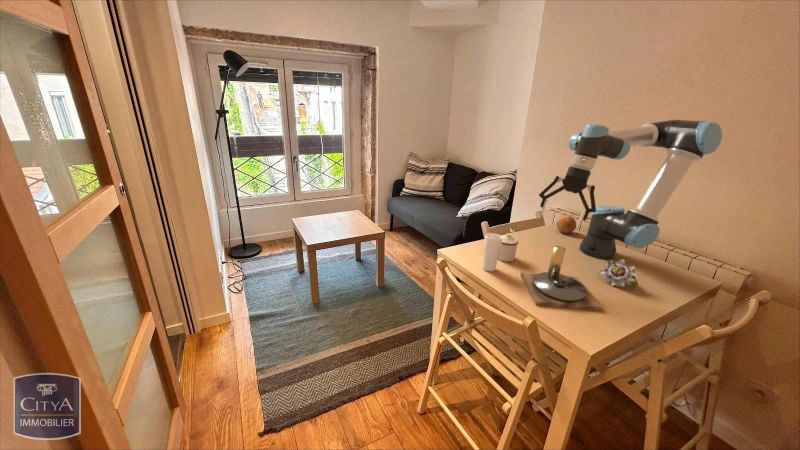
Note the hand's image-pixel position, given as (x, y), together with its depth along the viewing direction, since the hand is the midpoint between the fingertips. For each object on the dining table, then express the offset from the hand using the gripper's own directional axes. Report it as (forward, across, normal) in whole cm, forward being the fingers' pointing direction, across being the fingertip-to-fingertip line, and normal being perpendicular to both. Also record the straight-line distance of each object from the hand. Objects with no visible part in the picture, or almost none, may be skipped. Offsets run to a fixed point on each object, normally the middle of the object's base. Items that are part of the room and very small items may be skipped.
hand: (558, 221), depth 122 cm
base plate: (+24, +8, -10) cm, 27 cm away
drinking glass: (+27, -18, -6) cm, 33 cm away
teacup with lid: (+25, -16, +9) cm, 31 cm away
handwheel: (+22, +8, -10) cm, 26 cm away
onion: (+15, +8, +59) cm, 61 cm away
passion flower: (+18, +28, +10) cm, 35 cm away
